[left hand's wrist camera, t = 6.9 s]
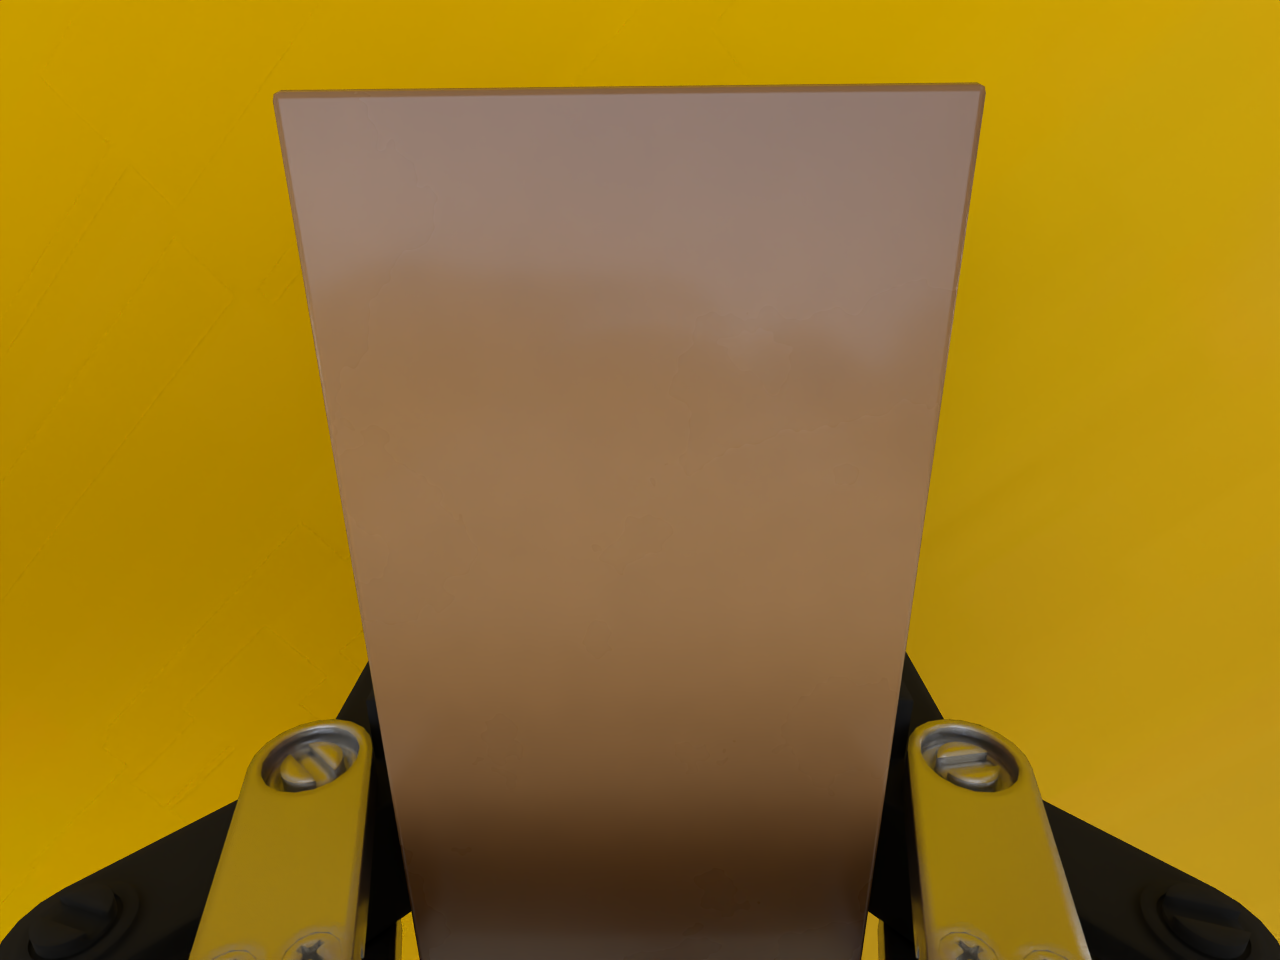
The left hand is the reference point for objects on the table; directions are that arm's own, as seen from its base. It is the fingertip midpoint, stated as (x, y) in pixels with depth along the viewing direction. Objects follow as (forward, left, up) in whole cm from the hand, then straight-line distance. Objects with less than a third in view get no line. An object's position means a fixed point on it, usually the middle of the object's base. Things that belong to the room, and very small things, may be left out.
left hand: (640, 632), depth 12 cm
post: (-13, -16, -2) cm, 21 cm away
